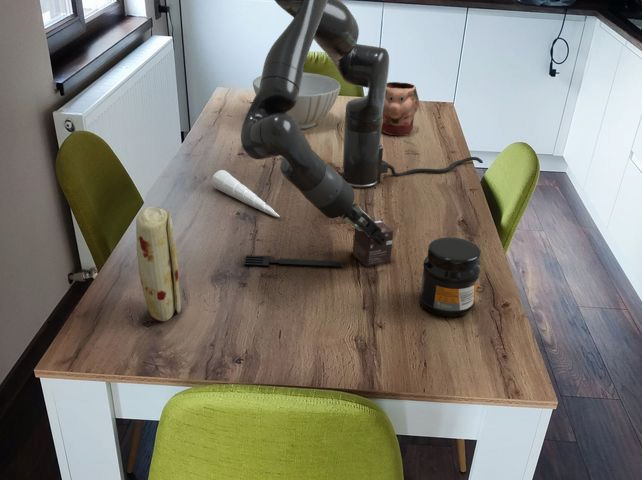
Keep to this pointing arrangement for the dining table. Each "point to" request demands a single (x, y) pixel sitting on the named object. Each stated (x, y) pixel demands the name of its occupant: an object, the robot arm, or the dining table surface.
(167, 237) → the food model
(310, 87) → the decorative bowl
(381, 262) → the box
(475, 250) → the supplement container
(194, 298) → the dining table surface
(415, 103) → the decorative planter
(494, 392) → the dining table surface
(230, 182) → the unicorn horn
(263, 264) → the fork
